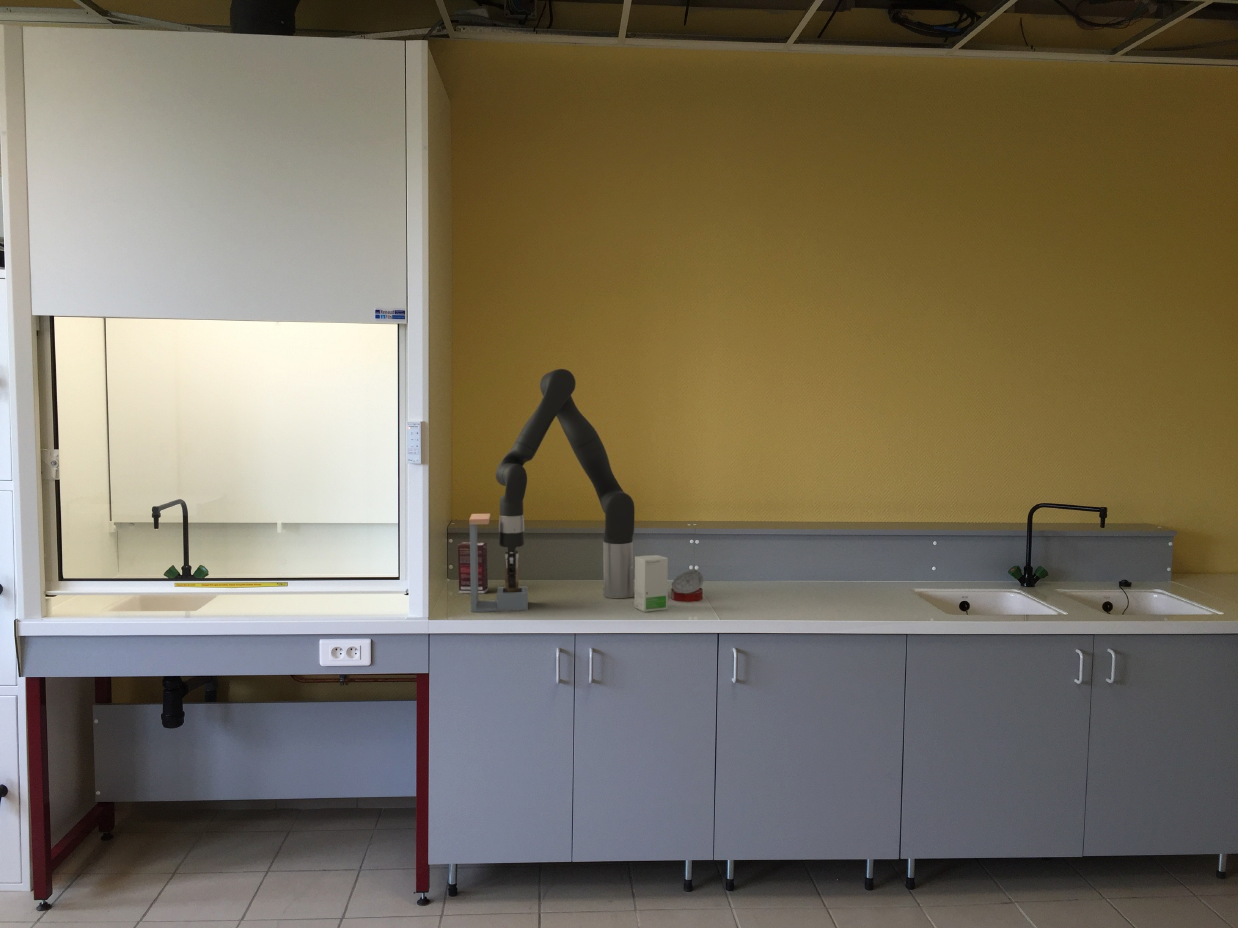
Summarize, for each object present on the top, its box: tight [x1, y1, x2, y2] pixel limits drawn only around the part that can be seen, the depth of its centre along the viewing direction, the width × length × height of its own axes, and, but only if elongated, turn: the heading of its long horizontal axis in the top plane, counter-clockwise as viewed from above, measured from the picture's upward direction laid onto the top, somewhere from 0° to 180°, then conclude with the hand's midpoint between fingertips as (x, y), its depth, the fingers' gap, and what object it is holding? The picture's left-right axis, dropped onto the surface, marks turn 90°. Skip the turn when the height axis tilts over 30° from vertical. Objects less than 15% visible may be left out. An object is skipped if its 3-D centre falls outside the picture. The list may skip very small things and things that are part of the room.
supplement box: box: [457, 541, 489, 594], centre depth 265 cm, size 9×5×16 cm, turn 84°
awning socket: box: [468, 513, 529, 613], centre depth 246 cm, size 16×11×28 cm, turn 96°
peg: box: [504, 559, 520, 592], centre depth 247 cm, size 4×4×12 cm
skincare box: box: [634, 554, 669, 613], centre depth 244 cm, size 8×7×16 cm
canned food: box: [670, 569, 704, 603], centre depth 257 cm, size 11×10×10 cm
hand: (512, 586), depth 247 cm, fingers closed on peg, 4 cm apart
